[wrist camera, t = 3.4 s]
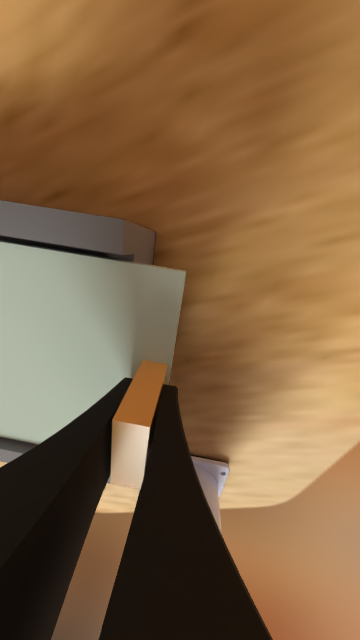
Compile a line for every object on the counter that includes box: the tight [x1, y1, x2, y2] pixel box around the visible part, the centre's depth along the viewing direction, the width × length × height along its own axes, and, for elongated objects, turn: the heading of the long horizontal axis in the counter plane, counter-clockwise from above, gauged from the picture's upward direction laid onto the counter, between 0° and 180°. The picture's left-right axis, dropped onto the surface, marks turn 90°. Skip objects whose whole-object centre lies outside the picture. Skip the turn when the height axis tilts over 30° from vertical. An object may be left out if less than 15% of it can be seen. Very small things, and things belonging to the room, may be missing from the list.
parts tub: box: [0, 200, 156, 484], centre depth 12 cm, size 15×17×5 cm
